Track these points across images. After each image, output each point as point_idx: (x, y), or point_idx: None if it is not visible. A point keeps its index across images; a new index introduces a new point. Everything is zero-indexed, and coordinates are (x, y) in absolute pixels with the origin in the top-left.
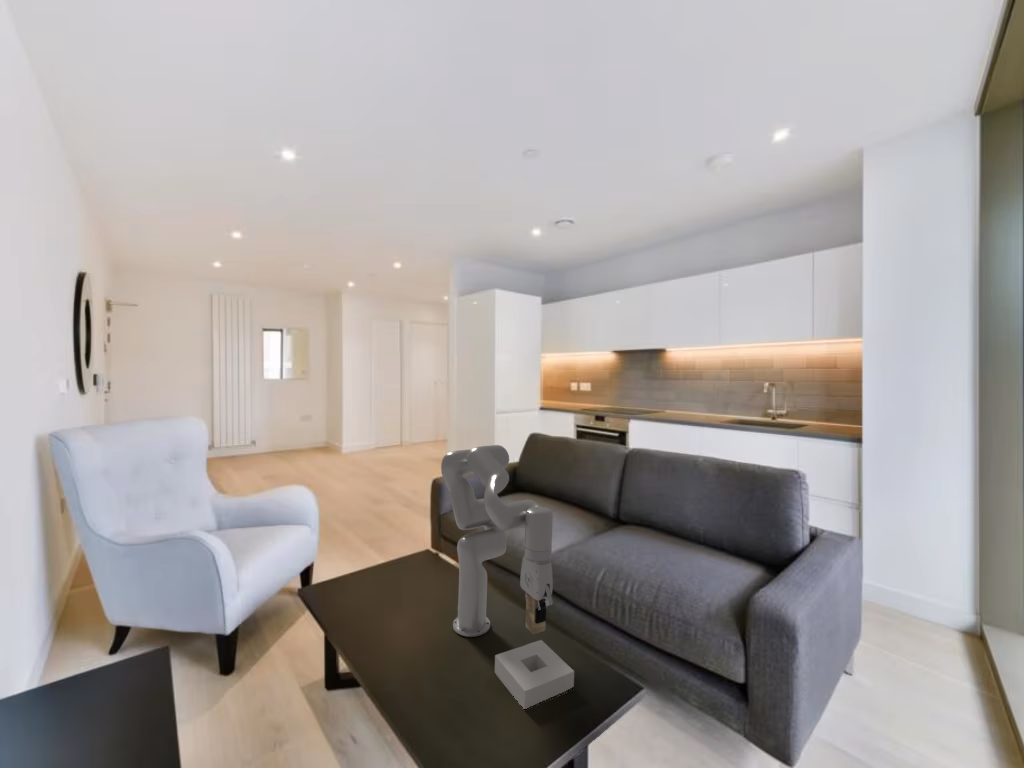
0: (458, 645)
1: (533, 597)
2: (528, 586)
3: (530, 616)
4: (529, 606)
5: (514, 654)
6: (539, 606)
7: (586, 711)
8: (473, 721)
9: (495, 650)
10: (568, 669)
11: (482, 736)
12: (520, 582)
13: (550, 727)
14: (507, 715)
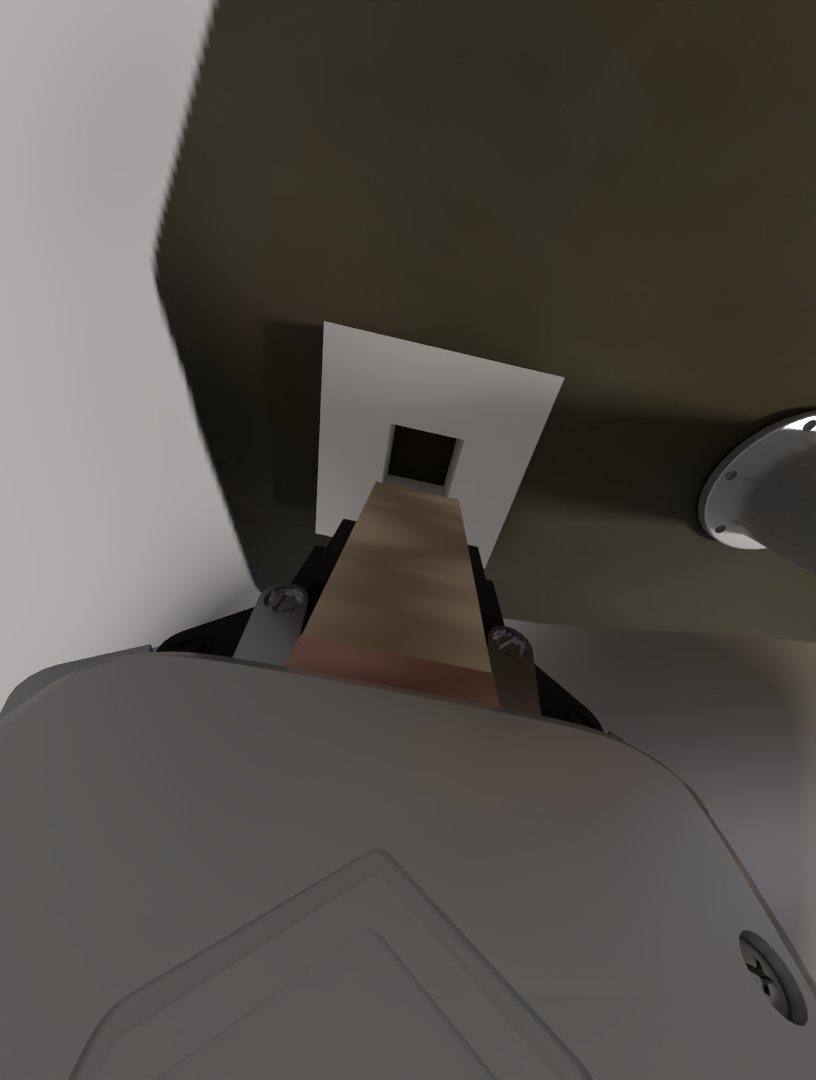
0: (772, 363)
1: (222, 671)
2: (365, 897)
3: (401, 531)
4: (416, 578)
5: (503, 447)
6: (253, 612)
7: (261, 478)
8: (418, 73)
9: (611, 460)
10: (330, 527)
11: (332, 49)
12: (720, 856)
13: (255, 352)
14: (362, 257)
